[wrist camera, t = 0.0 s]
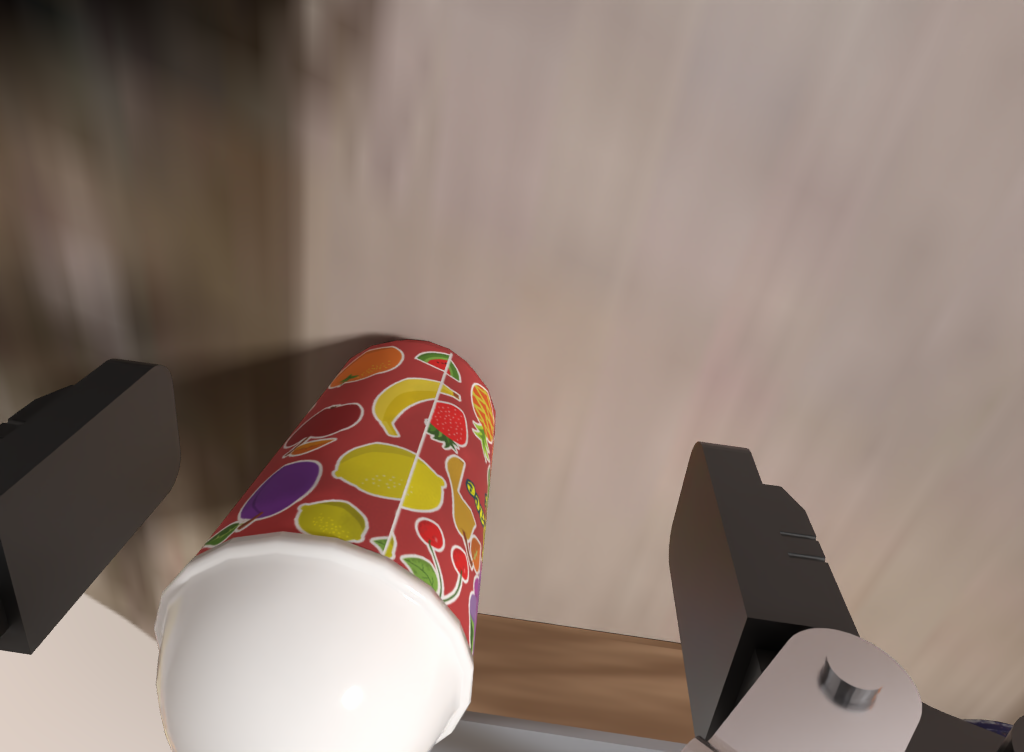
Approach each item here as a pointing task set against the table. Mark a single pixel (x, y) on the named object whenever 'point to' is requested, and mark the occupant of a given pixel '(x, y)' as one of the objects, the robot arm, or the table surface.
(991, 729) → the storage jar
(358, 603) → the smoothie
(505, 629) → the mount
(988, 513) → the table surface
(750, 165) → the table surface
